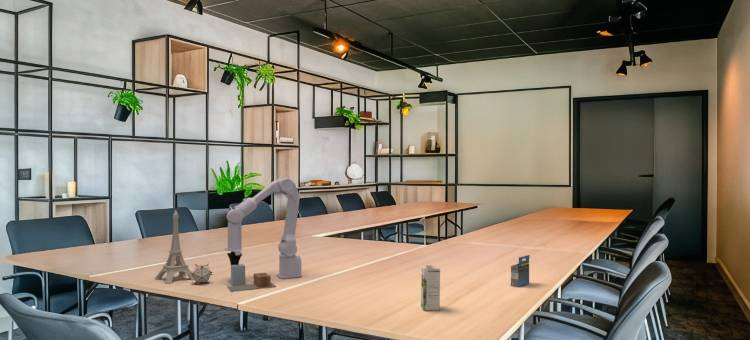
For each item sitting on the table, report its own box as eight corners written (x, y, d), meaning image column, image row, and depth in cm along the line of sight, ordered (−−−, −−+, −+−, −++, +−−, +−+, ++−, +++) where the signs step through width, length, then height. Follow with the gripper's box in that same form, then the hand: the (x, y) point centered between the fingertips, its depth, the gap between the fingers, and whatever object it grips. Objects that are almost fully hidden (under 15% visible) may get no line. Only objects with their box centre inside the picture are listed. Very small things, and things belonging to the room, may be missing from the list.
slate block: (243, 283, 213) (243, 264, 213) (245, 285, 209) (245, 265, 209) (230, 284, 211) (230, 265, 211) (232, 286, 207) (232, 266, 207)
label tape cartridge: (521, 282, 216) (521, 253, 216) (529, 284, 213) (529, 254, 213) (510, 286, 210) (510, 256, 210) (518, 287, 207) (519, 257, 207)
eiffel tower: (184, 274, 229) (184, 208, 229) (197, 279, 220) (197, 210, 219) (153, 279, 220) (153, 210, 220) (166, 284, 210) (166, 212, 210)
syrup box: (420, 306, 178) (420, 265, 178) (437, 306, 179) (437, 265, 179) (423, 311, 173) (423, 268, 173) (440, 310, 173) (440, 268, 173)
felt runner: (270, 282, 213) (270, 282, 213) (276, 286, 206) (276, 286, 206) (227, 287, 205) (227, 286, 205) (231, 291, 198) (231, 290, 198)
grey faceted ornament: (203, 293, 211) (203, 276, 205) (186, 284, 212) (186, 268, 206) (216, 278, 218) (217, 262, 212) (200, 270, 219) (199, 254, 214)
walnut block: (265, 272, 213) (270, 276, 206) (265, 282, 213) (270, 286, 206) (253, 273, 211) (258, 277, 204) (253, 283, 211) (258, 287, 204)
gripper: (221, 236, 221) (221, 267, 221) (228, 240, 208) (228, 273, 208) (238, 235, 224) (238, 266, 224) (245, 239, 211) (245, 272, 211)
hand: (234, 269), depth 216 cm, fingers closed
